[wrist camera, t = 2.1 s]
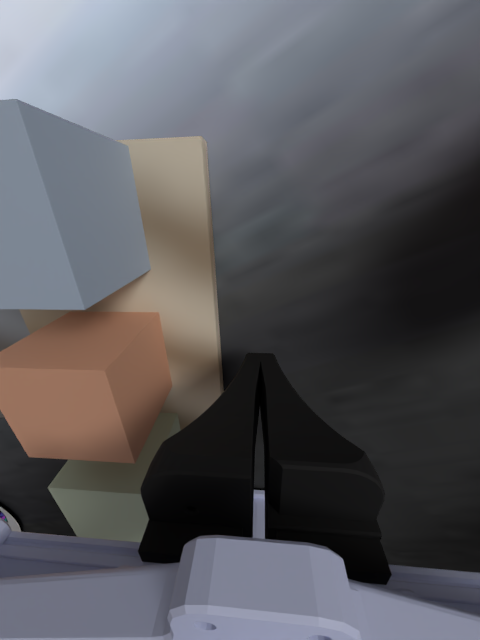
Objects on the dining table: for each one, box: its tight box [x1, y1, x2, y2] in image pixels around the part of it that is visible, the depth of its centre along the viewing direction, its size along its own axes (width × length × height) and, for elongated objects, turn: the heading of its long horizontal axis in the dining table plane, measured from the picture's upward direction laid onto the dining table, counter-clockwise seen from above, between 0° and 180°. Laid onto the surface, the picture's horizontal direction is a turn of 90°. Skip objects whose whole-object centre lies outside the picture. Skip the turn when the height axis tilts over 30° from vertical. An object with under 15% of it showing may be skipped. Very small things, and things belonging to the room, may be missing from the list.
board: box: [0, 136, 224, 430], centre depth 15 cm, size 20×21×1 cm
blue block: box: [0, 99, 151, 310], centre depth 9 cm, size 5×5×5 cm
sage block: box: [48, 413, 181, 542], centre depth 15 cm, size 5×5×5 cm
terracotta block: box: [0, 311, 172, 464], centre depth 12 cm, size 5×5×5 cm
